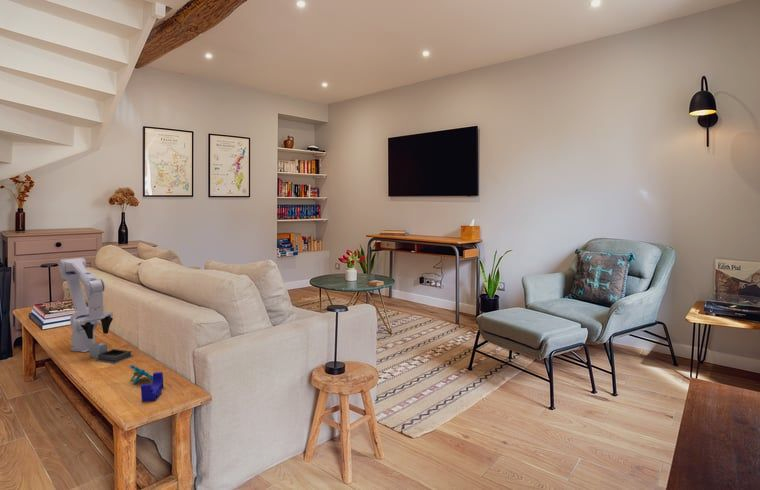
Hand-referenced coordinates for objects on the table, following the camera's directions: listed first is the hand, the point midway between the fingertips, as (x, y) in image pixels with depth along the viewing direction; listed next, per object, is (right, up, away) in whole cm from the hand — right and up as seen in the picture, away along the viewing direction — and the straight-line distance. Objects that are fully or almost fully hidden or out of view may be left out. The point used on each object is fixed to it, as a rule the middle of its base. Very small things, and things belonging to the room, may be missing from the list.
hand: (98, 335), depth 201 cm
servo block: (0, -9, +1) cm, 10 cm away
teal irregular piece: (+34, -13, -26) cm, 45 cm away
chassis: (+9, -10, -2) cm, 13 cm away
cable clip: (+45, -14, -37) cm, 60 cm away
